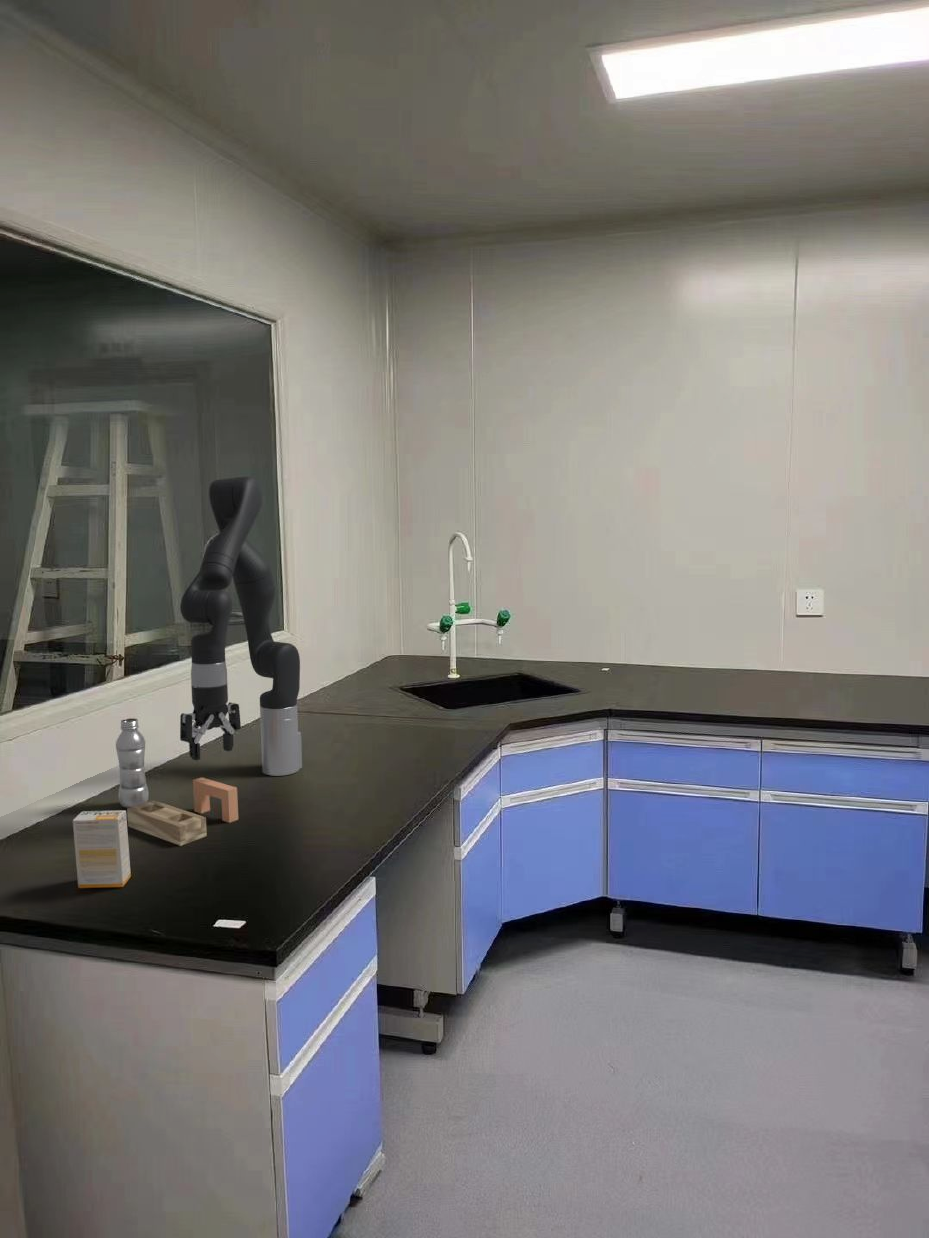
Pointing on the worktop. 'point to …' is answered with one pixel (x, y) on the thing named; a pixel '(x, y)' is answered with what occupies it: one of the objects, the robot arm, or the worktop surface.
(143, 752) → the metal bottle
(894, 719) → the worktop surface
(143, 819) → the rail
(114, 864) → the supplement box
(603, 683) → the worktop surface
